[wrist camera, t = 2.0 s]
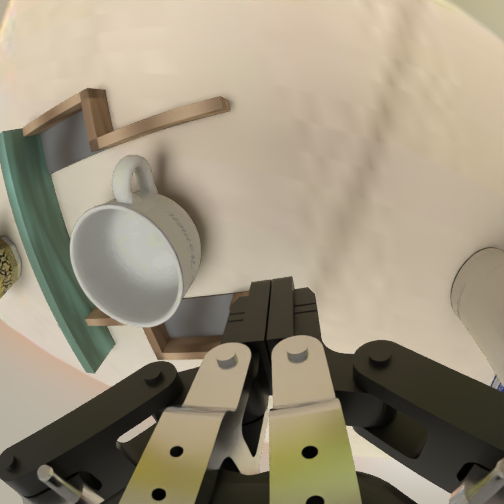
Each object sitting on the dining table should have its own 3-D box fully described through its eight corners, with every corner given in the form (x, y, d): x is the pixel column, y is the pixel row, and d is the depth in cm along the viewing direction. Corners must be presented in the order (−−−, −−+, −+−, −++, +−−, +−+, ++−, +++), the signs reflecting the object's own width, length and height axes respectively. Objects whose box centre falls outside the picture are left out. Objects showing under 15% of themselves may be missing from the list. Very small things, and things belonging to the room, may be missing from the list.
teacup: (194, 299, 31) (169, 348, 24) (106, 263, 31) (65, 299, 23) (234, 171, 25) (212, 188, 18) (127, 138, 25) (76, 146, 18)
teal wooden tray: (216, 49, 21) (196, 28, 16) (278, 336, 32) (275, 375, 26) (32, 131, 25) (-5, 137, 20) (107, 343, 36) (86, 372, 30)
